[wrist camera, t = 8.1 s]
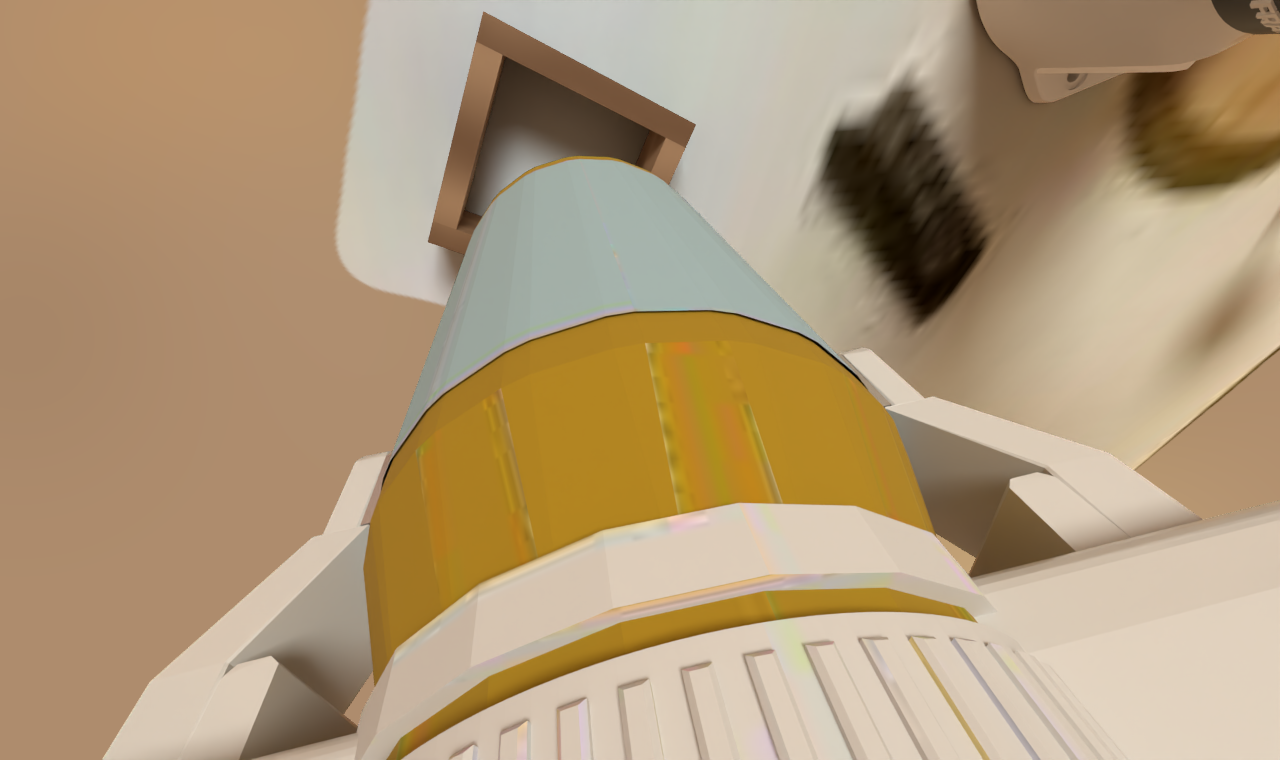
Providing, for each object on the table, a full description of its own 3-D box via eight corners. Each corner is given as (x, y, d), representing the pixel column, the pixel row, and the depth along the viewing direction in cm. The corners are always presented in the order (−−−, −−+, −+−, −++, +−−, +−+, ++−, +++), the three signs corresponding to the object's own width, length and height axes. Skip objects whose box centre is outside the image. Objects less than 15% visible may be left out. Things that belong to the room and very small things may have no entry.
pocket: (489, 17, 25) (483, 11, 21) (677, 116, 29) (695, 124, 25) (439, 221, 30) (427, 242, 26) (605, 281, 34) (613, 306, 30)
